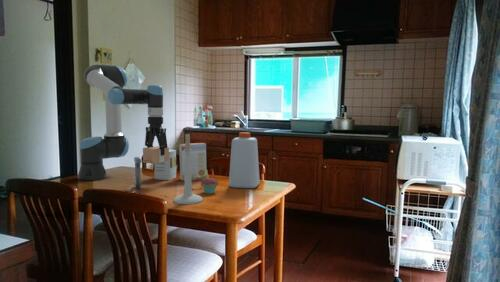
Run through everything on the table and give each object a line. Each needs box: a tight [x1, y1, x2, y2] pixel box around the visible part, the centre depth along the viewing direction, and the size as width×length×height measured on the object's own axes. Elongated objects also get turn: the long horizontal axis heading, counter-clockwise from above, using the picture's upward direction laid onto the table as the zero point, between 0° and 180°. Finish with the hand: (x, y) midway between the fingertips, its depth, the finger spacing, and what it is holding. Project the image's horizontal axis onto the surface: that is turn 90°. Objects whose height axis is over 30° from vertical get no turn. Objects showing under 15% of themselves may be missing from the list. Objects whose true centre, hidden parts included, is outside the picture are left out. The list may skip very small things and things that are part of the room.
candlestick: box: [173, 133, 204, 205], centre depth 163 cm, size 13×13×30 cm
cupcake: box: [200, 168, 219, 194], centre depth 180 cm, size 9×8×12 cm
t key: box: [133, 156, 142, 190], centre depth 181 cm, size 2×10×15 cm, turn 25°
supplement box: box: [153, 149, 177, 181], centre depth 208 cm, size 10×9×17 cm
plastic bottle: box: [228, 131, 261, 189], centre depth 195 cm, size 15×15×28 cm
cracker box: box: [178, 142, 207, 182], centre depth 207 cm, size 14×6×21 cm, turn 115°
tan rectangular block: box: [141, 145, 170, 164], centre depth 188 cm, size 8×12×7 cm
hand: (156, 160), depth 189 cm, fingers closed on tan rectangular block, 8 cm apart
